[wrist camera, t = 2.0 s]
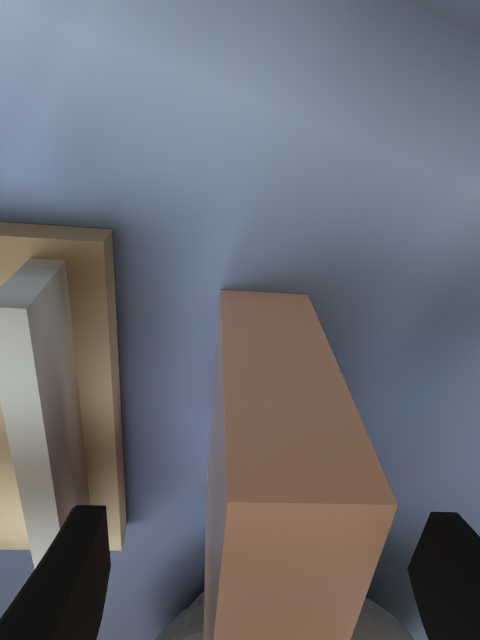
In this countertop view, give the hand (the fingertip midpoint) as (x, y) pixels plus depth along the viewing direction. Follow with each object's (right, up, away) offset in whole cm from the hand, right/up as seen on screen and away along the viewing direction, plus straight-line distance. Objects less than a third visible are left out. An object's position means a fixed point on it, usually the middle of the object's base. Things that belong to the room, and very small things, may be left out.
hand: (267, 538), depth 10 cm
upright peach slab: (0, +2, +4) cm, 5 cm away
